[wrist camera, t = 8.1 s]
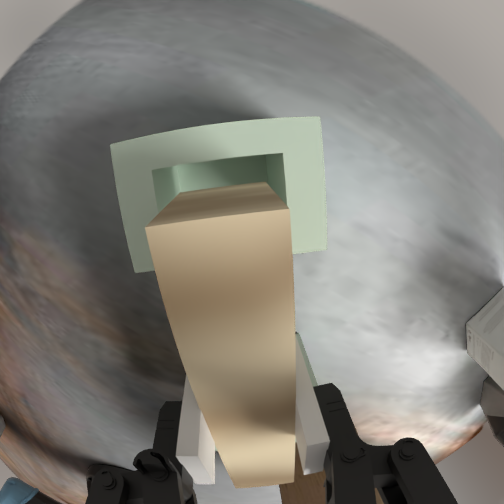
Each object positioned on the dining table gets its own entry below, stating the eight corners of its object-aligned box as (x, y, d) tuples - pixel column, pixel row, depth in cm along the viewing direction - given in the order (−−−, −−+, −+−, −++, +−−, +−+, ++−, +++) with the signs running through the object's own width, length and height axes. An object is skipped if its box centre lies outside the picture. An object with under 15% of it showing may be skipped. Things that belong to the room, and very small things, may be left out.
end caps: (299, 381, 25) (315, 438, 18) (206, 392, 25) (203, 451, 18) (287, 127, 17) (319, 116, 11) (151, 145, 17) (110, 144, 10)
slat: (283, 422, 17) (293, 482, 13) (233, 428, 17) (235, 488, 12) (265, 181, 11) (289, 208, 7) (179, 192, 11) (144, 227, 7)
